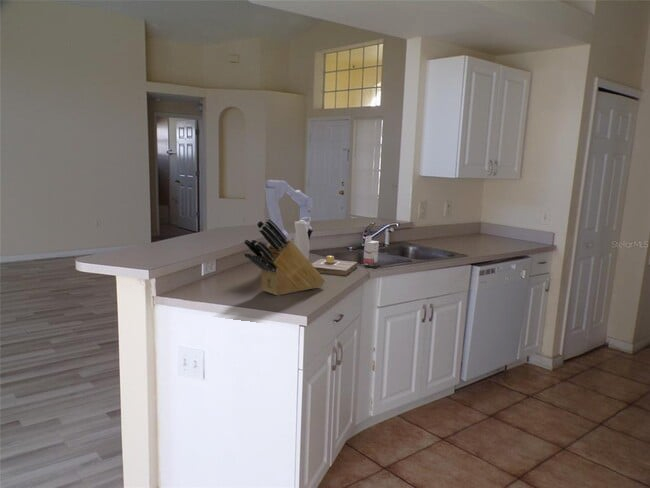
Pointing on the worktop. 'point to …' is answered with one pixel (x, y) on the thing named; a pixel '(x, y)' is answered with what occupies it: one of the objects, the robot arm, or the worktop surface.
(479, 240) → the worktop surface
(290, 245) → the knife block
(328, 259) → the brass peg
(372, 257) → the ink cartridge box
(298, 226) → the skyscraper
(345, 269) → the plate
